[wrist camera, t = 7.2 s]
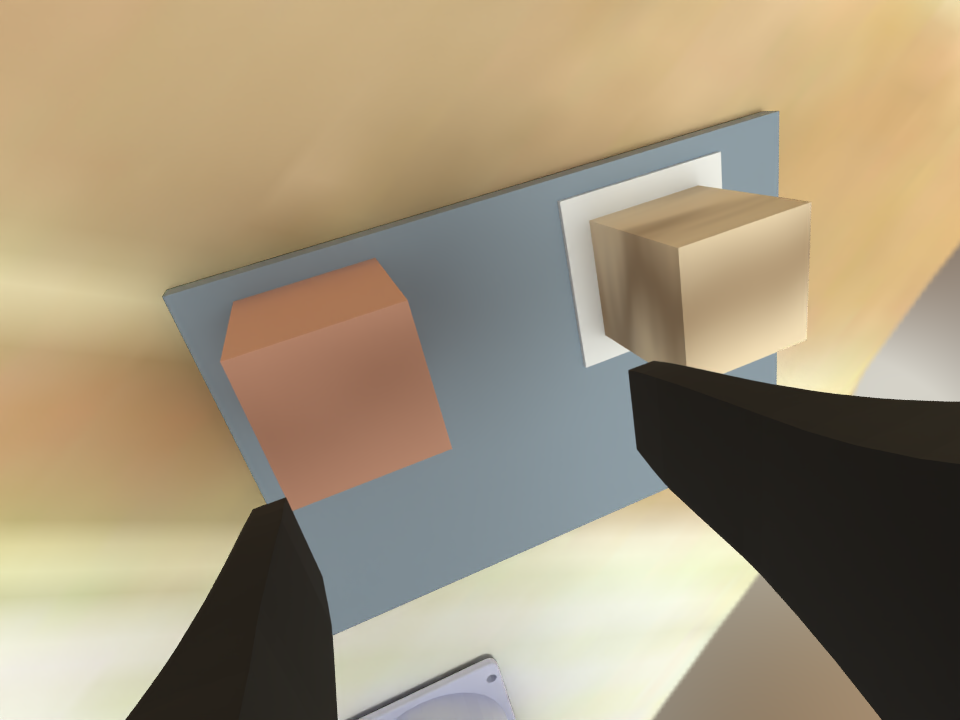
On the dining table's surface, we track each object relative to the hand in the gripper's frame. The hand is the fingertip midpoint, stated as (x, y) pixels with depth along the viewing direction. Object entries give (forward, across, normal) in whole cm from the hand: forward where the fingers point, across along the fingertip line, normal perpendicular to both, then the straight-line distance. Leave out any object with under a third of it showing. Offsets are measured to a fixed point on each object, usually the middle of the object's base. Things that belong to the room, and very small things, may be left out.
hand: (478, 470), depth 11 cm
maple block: (+9, -10, +1) cm, 13 cm away
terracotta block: (+9, +2, 0) cm, 9 cm away
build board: (+10, -5, +4) cm, 12 cm away
